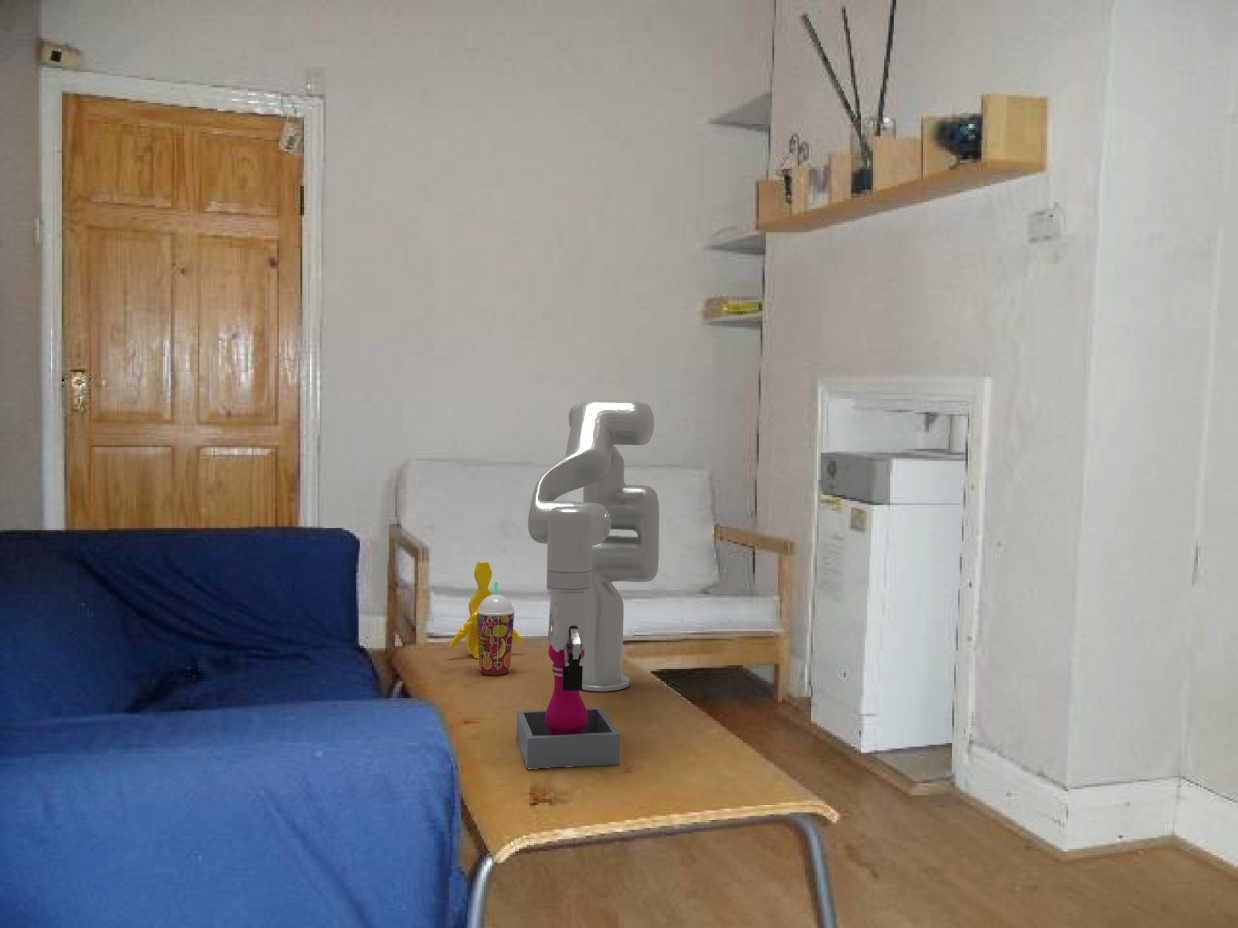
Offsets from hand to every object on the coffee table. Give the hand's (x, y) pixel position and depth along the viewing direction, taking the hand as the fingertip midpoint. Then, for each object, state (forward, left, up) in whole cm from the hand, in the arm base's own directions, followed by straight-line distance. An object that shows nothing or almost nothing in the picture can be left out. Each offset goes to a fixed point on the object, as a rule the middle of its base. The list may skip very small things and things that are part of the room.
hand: (567, 682), depth 164 cm
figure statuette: (-70, -8, -12) cm, 71 cm away
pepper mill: (0, 0, -11) cm, 11 cm away
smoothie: (-54, -7, -12) cm, 56 cm away
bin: (0, 0, -12) cm, 12 cm away
